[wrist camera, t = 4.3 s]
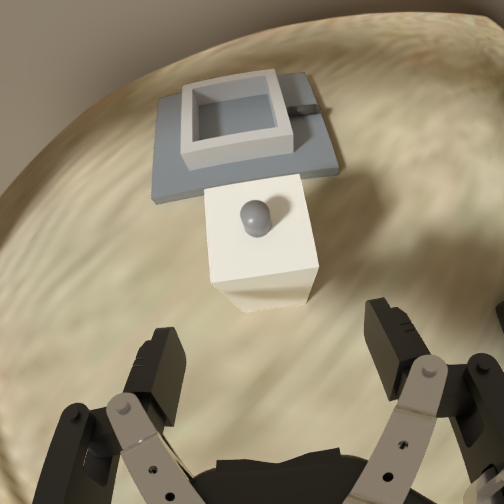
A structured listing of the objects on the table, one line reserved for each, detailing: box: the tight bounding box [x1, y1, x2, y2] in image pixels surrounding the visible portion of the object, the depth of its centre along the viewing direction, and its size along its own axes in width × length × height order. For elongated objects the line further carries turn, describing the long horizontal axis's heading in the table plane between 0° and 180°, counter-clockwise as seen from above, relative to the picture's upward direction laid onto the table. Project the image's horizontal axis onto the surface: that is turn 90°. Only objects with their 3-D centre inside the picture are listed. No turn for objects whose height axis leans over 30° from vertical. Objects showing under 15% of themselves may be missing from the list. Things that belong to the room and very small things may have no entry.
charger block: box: [204, 174, 319, 313], centre depth 18 cm, size 5×5×11 cm
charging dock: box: [151, 69, 339, 205], centre depth 26 cm, size 16×13×4 cm
